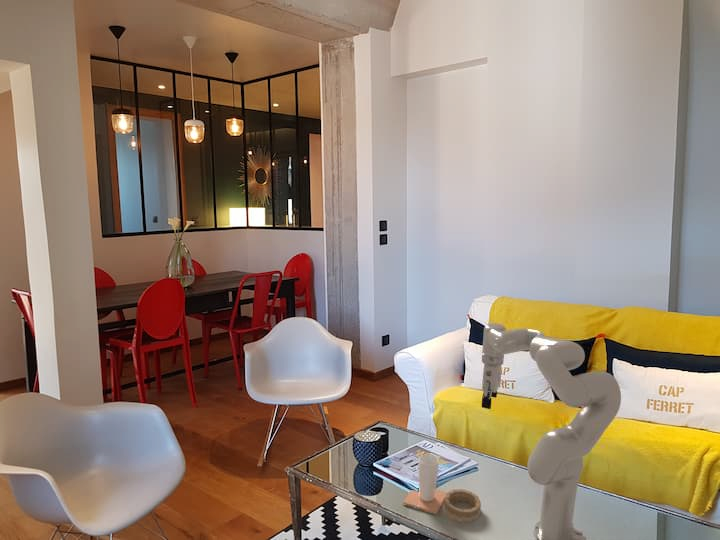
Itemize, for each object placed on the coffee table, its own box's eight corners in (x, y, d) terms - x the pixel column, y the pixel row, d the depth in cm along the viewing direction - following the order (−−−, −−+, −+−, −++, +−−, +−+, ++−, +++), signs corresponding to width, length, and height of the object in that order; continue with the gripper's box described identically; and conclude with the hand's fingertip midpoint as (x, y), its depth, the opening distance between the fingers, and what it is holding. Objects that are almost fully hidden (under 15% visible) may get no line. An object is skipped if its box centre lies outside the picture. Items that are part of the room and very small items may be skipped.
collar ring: (483, 505, 193) (483, 495, 192) (474, 526, 182) (475, 515, 181) (449, 495, 198) (450, 485, 197) (439, 515, 187) (440, 505, 186)
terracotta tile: (446, 494, 198) (447, 492, 198) (436, 514, 188) (436, 512, 187) (415, 485, 203) (415, 483, 203) (403, 504, 193) (403, 502, 192)
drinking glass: (440, 497, 195) (442, 459, 192) (429, 506, 190) (431, 467, 187) (424, 489, 199) (426, 451, 196) (413, 497, 195) (414, 459, 191)
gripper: (498, 369, 189) (494, 415, 193) (508, 351, 204) (504, 394, 208) (476, 364, 192) (473, 410, 196) (487, 348, 207) (484, 390, 211)
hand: (489, 402), depth 202 cm, fingers open, 9 cm apart
